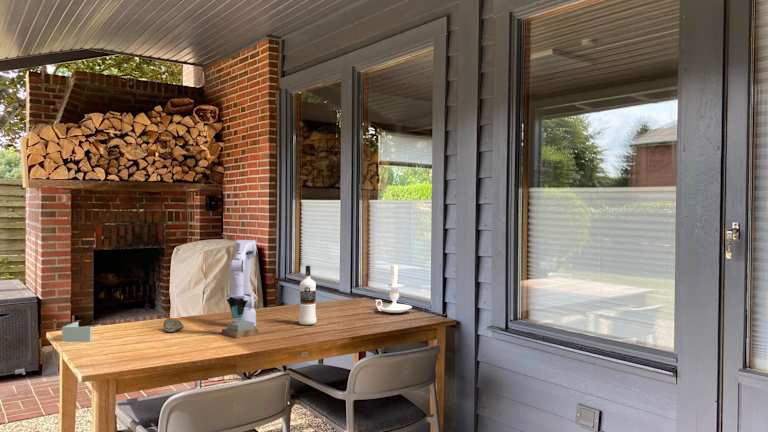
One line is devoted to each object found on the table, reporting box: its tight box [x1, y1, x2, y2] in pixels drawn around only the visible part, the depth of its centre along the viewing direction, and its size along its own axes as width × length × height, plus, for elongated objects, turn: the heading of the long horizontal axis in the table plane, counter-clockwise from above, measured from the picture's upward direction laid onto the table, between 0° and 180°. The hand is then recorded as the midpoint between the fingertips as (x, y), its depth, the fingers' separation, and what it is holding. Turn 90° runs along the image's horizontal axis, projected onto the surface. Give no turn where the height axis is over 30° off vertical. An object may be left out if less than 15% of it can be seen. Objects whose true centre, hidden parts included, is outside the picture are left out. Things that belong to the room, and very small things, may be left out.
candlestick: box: [375, 264, 413, 314], centre depth 333 cm, size 21×25×28 cm
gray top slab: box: [226, 320, 255, 332], centre depth 273 cm, size 9×9×3 cm
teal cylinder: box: [230, 306, 242, 319], centre depth 273 cm, size 5×5×5 cm
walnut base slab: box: [221, 327, 259, 339], centre depth 273 cm, size 12×12×3 cm
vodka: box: [298, 265, 318, 326], centre depth 300 cm, size 9×9×30 cm
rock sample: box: [163, 317, 185, 333], centre depth 277 cm, size 10×8×9 cm
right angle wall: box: [61, 321, 92, 343], centre depth 257 cm, size 12×12×8 cm
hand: (237, 314), depth 273 cm, fingers closed on teal cylinder, 5 cm apart
